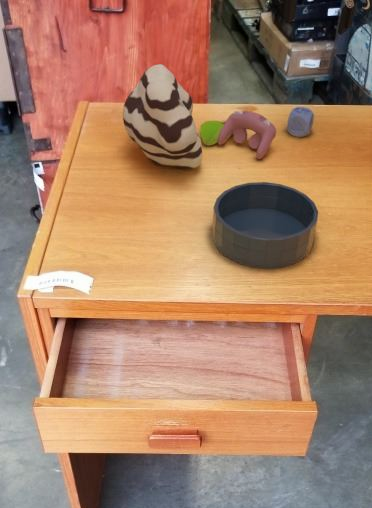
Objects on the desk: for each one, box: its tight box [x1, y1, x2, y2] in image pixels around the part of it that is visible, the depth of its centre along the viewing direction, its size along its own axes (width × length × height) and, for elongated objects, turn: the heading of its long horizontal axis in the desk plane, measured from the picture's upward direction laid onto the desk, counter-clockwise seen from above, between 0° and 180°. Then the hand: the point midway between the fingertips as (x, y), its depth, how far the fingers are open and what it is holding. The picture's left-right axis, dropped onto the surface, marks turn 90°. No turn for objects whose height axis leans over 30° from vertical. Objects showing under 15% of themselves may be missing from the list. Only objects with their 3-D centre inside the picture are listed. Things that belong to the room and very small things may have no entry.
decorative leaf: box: [199, 120, 234, 147], centre depth 112 cm, size 8×9×1 cm
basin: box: [212, 181, 319, 270], centre depth 89 cm, size 15×15×5 cm
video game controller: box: [217, 110, 277, 160], centre depth 108 cm, size 10×5×7 cm, turn 56°
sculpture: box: [122, 63, 203, 171], centre depth 101 cm, size 22×12×15 cm, turn 14°
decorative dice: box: [286, 106, 315, 138], centre depth 112 cm, size 4×4×4 cm
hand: (315, 26), depth 100 cm, fingers open, 9 cm apart
